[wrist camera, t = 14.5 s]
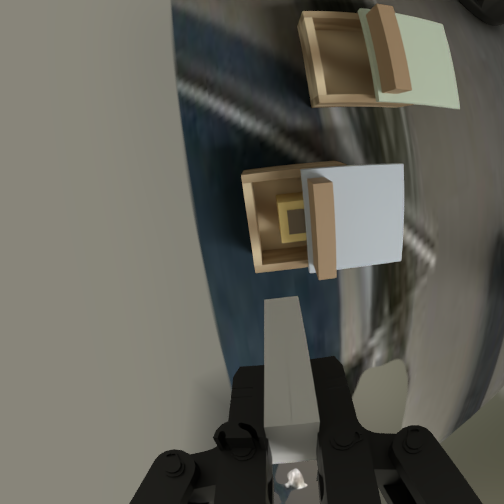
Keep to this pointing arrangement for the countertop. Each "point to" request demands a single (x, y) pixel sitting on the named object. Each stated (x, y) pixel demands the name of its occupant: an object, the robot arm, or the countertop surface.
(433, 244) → the countertop surface
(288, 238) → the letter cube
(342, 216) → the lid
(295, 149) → the countertop surface
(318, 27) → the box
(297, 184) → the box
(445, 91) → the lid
